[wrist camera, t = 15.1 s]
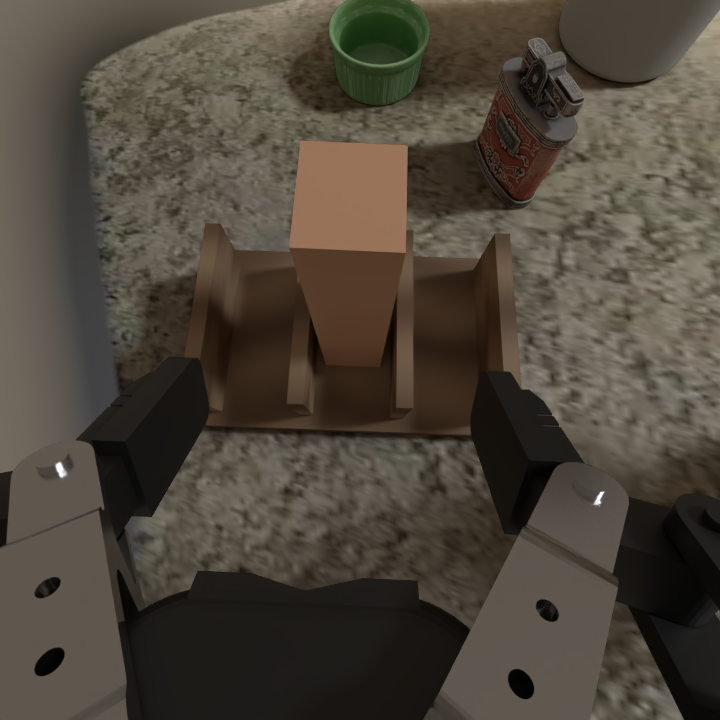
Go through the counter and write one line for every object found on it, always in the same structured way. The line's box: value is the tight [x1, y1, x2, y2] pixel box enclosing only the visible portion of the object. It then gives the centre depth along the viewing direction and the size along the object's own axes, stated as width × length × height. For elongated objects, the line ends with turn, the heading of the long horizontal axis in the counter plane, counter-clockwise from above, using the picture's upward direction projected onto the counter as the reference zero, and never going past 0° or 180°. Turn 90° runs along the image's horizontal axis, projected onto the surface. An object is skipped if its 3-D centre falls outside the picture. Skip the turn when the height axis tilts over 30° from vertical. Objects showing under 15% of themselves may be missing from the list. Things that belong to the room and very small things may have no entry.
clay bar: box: [289, 141, 408, 367], centre depth 22 cm, size 4×4×16 cm
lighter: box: [474, 38, 585, 209], centre depth 30 cm, size 8×3×10 cm, turn 22°
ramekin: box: [328, 0, 430, 105], centre depth 36 cm, size 9×9×4 cm
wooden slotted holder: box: [184, 223, 521, 437], centre depth 28 cm, size 14×22×6 cm, turn 88°
